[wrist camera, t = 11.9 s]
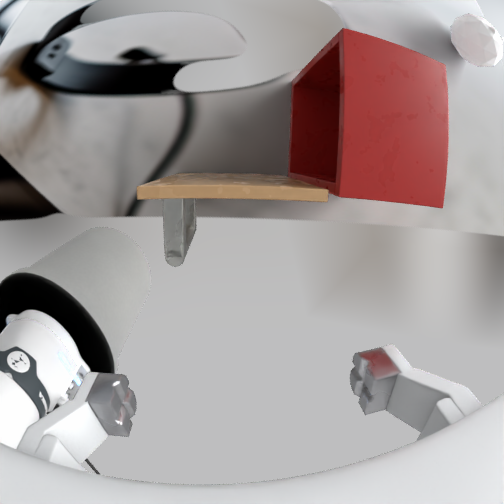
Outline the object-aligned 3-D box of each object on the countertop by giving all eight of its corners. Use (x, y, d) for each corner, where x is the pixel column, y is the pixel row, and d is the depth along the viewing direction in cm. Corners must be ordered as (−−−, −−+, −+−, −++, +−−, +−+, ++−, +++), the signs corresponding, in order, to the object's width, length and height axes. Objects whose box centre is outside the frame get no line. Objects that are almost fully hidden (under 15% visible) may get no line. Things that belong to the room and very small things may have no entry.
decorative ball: (450, 18, 26) (507, 24, 17) (452, 67, 32) (510, 80, 22) (423, -2, 23) (488, -1, 14) (426, 53, 29) (494, 62, 19)
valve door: (279, 226, 33) (319, 280, 19) (178, 225, 32) (142, 279, 18) (282, 175, 31) (328, 189, 17) (177, 173, 30) (136, 186, 16)
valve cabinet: (287, 178, 32) (338, 197, 17) (291, 81, 28) (342, 27, 13) (359, 184, 33) (443, 208, 18) (363, 93, 29) (445, 64, 14)
